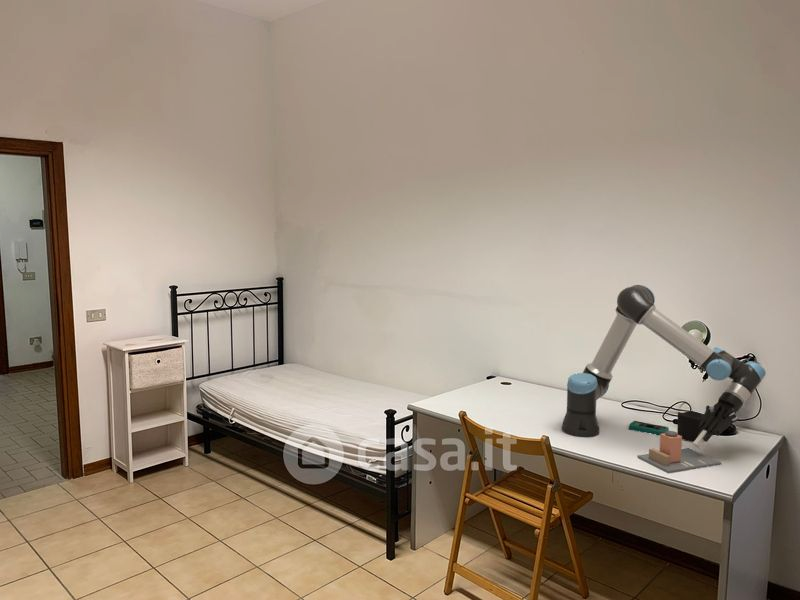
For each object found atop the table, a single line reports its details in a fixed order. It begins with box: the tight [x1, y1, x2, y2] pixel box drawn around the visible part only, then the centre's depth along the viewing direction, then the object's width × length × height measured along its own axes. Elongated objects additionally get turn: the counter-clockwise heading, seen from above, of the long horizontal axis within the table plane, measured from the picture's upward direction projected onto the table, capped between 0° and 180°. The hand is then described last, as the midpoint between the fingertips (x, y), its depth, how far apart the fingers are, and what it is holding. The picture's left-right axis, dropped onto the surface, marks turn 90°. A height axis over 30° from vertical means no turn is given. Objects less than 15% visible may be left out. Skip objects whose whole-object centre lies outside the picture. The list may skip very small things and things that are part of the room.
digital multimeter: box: [628, 420, 670, 436], centre depth 243 cm, size 7×15×3 cm, turn 53°
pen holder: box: [676, 410, 704, 442], centre depth 234 cm, size 9×9×10 cm
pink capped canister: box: [659, 430, 683, 463], centre depth 209 cm, size 5×5×10 cm
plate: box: [636, 447, 722, 474], centre depth 210 cm, size 24×15×4 cm, turn 109°
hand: (696, 446), depth 213 cm, fingers closed
